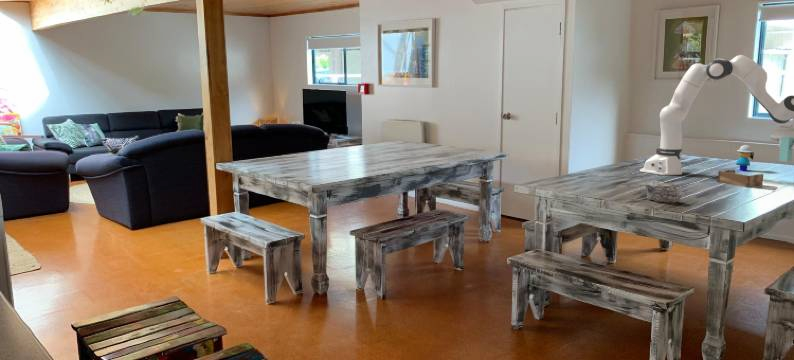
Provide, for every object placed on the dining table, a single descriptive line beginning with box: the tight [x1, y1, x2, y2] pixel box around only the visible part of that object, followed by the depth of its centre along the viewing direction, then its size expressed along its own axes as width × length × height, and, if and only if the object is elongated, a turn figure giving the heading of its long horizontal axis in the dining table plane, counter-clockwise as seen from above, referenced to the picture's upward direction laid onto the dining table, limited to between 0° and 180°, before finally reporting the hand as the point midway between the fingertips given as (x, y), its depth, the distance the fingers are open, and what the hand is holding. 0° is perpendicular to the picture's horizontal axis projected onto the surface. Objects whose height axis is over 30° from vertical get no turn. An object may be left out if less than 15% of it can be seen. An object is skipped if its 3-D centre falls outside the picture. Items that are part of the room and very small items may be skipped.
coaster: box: [755, 184, 778, 193], centre depth 311 cm, size 8×9×1 cm
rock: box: [644, 181, 682, 204], centre depth 284 cm, size 16×8×10 cm, turn 49°
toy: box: [735, 144, 755, 172], centre depth 364 cm, size 8×9×15 cm
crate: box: [717, 168, 764, 188], centre depth 321 cm, size 12×16×6 cm
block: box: [778, 137, 794, 163], centre depth 313 cm, size 4×4×12 cm
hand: (785, 148), depth 313 cm, fingers closed on block, 4 cm apart
